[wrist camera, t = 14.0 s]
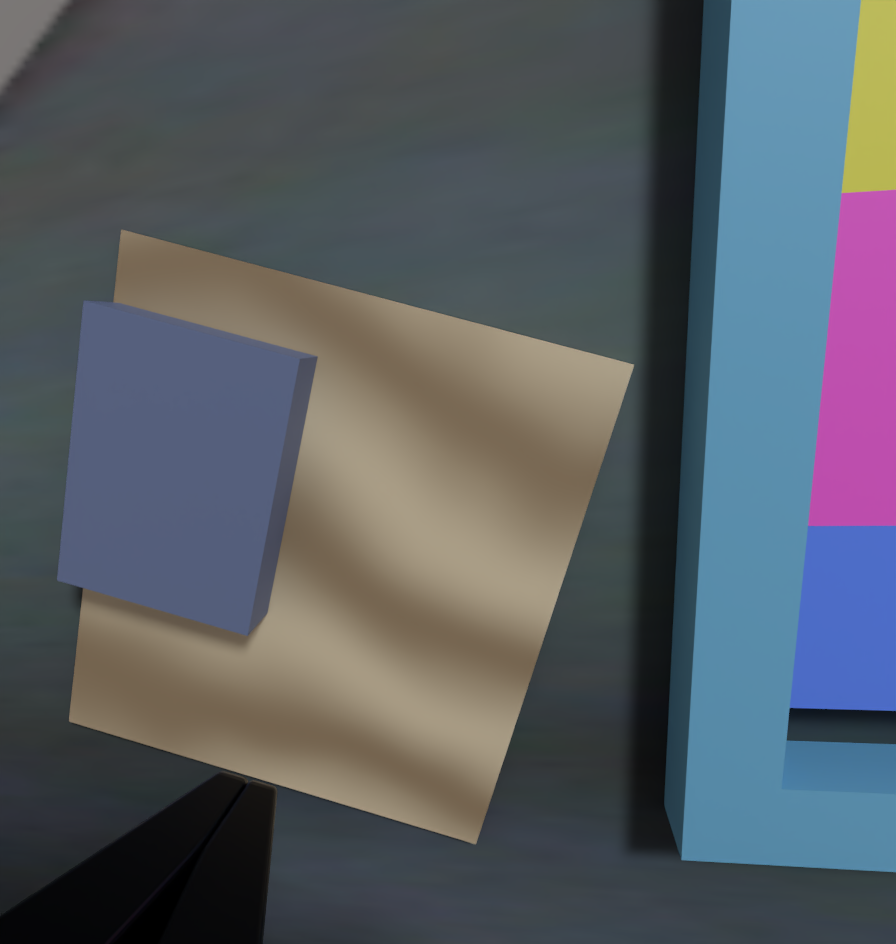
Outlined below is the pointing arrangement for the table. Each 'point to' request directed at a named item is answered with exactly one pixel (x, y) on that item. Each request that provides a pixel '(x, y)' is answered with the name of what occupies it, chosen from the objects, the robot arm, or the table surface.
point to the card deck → (180, 464)
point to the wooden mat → (370, 551)
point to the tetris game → (788, 440)
